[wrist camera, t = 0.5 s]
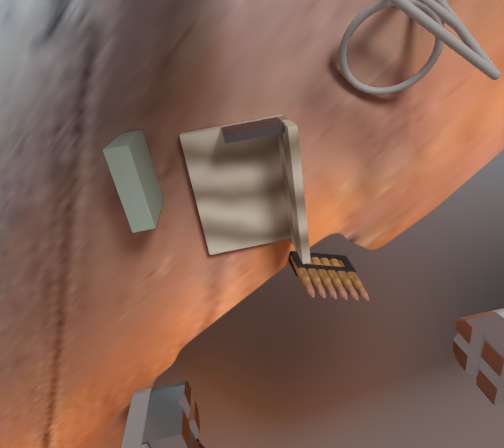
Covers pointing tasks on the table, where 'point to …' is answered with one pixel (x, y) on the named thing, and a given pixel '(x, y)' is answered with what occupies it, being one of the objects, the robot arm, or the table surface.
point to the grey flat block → (135, 179)
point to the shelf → (248, 184)
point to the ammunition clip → (328, 275)
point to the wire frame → (432, 19)
